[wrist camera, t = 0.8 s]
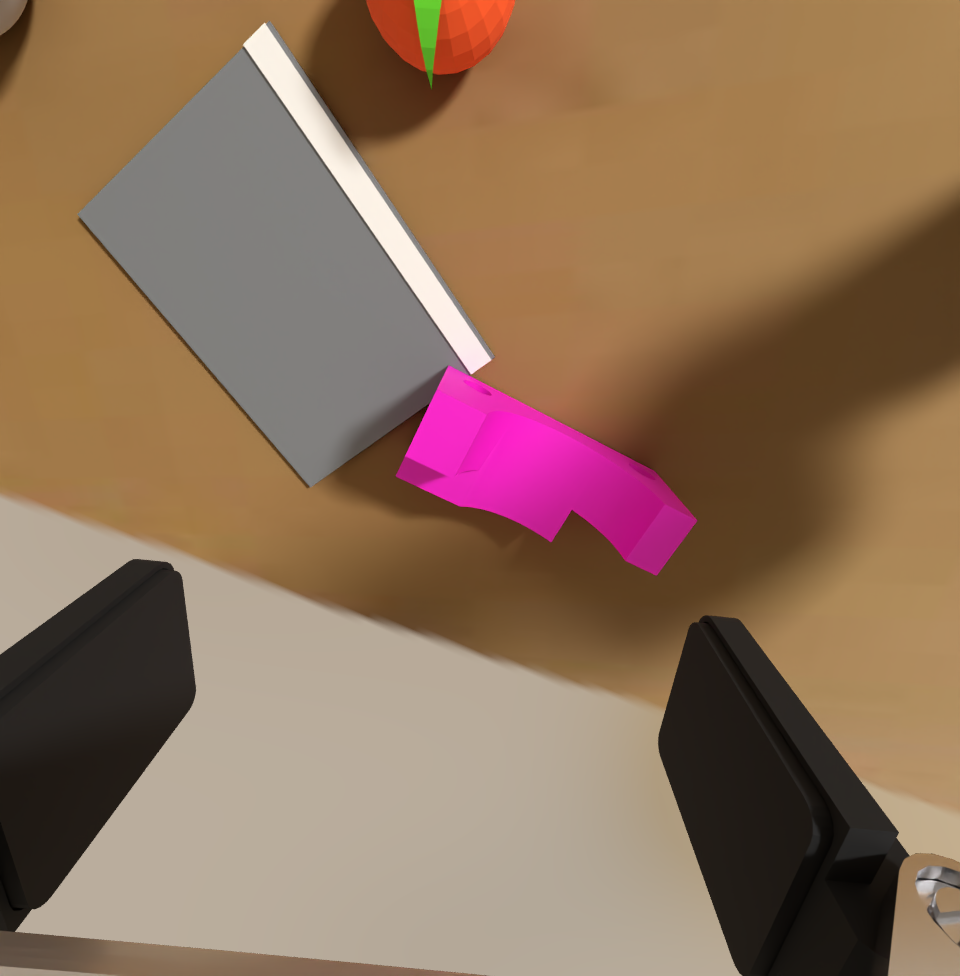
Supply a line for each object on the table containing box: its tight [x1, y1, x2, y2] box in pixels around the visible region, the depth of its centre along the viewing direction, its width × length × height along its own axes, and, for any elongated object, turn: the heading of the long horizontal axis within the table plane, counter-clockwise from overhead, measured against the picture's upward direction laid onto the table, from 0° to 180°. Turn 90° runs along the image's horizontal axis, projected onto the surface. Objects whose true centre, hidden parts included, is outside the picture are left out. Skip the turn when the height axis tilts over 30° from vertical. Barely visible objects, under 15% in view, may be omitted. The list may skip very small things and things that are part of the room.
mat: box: [77, 21, 495, 487], centre depth 30 cm, size 15×20×1 cm
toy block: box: [396, 365, 697, 576], centre depth 30 cm, size 15×6×8 cm, turn 63°
